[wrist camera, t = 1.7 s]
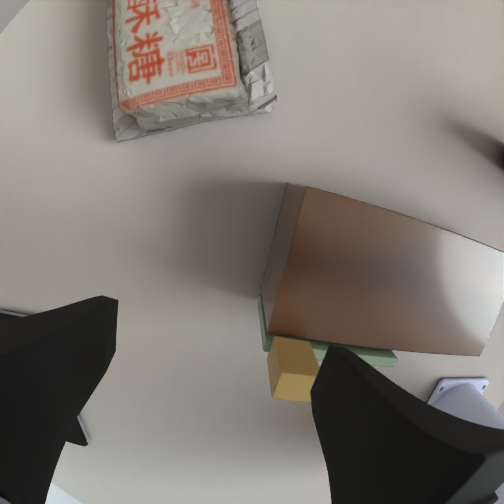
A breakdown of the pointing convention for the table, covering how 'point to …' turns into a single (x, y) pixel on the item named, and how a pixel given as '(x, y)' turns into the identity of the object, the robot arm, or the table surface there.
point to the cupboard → (378, 278)
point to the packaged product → (185, 64)
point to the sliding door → (305, 360)
